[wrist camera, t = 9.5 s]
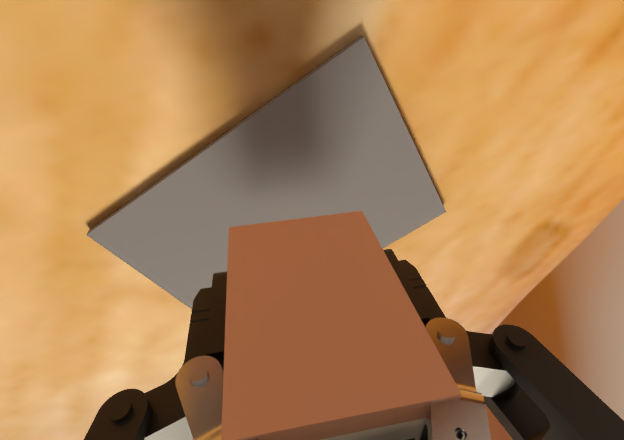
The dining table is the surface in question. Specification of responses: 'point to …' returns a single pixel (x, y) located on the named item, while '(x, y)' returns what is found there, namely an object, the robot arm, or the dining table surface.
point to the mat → (280, 177)
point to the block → (323, 337)
